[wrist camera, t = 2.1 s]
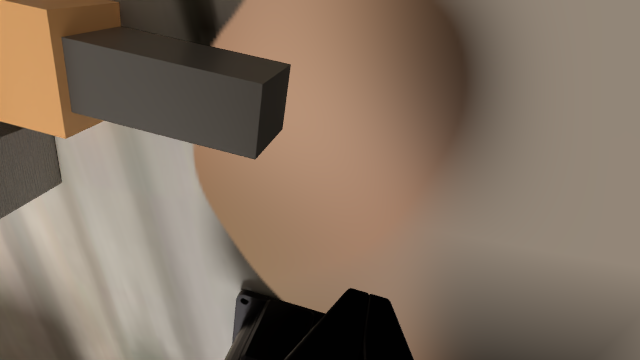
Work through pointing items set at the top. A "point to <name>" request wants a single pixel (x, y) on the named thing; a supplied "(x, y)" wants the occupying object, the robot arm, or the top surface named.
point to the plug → (132, 79)
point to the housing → (25, 166)
